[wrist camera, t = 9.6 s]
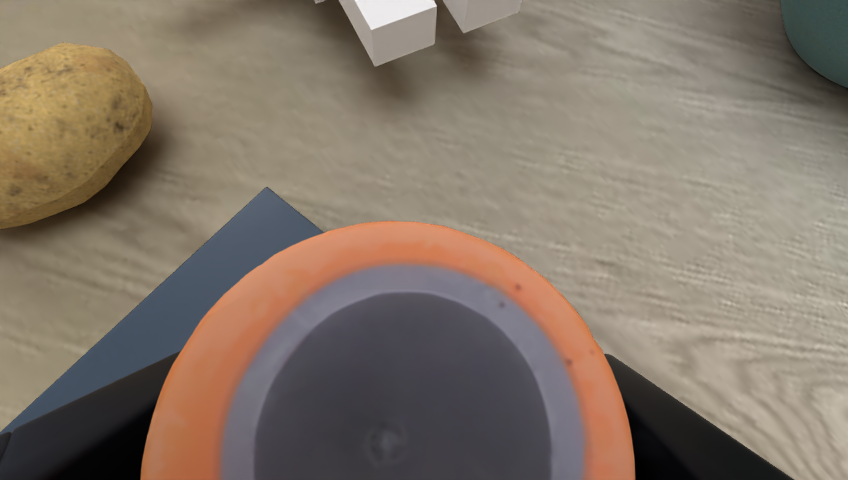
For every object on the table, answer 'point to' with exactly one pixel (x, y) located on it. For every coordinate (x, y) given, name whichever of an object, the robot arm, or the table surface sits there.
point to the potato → (66, 128)
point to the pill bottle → (390, 370)
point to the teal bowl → (819, 35)
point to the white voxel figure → (415, 22)
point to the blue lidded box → (179, 301)
